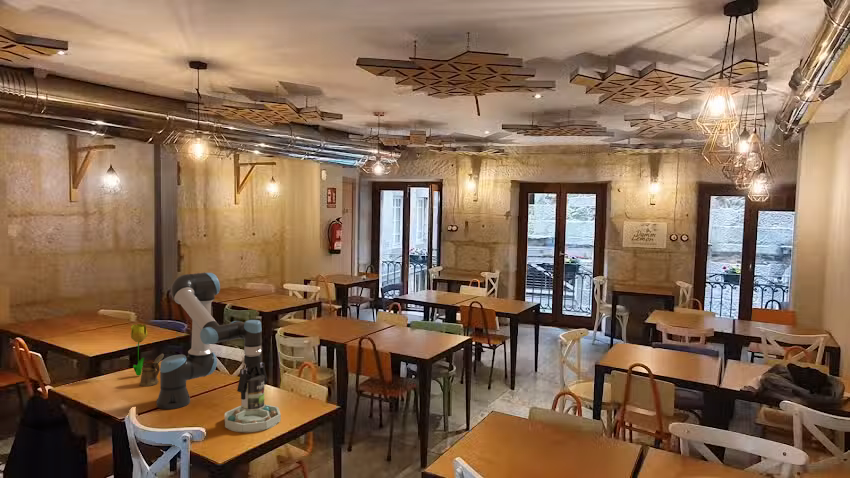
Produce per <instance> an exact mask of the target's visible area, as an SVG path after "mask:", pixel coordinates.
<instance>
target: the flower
mask: <svg viewBox="0 0 850 478" xmlns="http://www.w3.org/2000/svg"><path fill="white" fill-rule="evenodd" d="M146 325H147V324H142V323H137V324H132V325H131V326H130V338H131V340H133V341H134V342H136V343H137V365H136V364H133V366H132V367H133V371H134V373H135V375H136V376H138V377H140V376H141V375H142V367H143V364H144V363H145V362H144V360H145V357H141V359H139V357H140V356H139V354H140V353H139V350H140V349H139V348H140V343H141V342H143V341H144V340H145V339H146V338H147V336H148V335H149V334H148V330H147V326H146Z"/></svg>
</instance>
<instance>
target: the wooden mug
mask: <svg viewBox="0 0 850 478" xmlns="http://www.w3.org/2000/svg"><path fill="white" fill-rule="evenodd" d="M164 356H165V354H164V353H163V352H162V353H161V354H159V355H157V356H156V357H155V358H154V360H153V362H152V361H151V362H143V367H142V372H141V375H140V381H139V386H141V387H151V386H152V387H153V386H155V385H157V384H159V379H158V375H159V374H160V364H159V363H161V362H162V360H163V358H165V357H164Z"/></svg>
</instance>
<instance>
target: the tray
mask: <svg viewBox="0 0 850 478" xmlns="http://www.w3.org/2000/svg"><path fill="white" fill-rule="evenodd" d="M264 405H265V406H264V408H262V409H260V410H255V411H245V410H243V409H242V408H241V405H239V406H236V407H234V408H232V409H230V410H227V411H226V412H224V428H226V429H227V430H229V431H232V432H237V433H255V432H262V431H266V430H268V429H271V428H273V427H276V426H277V425H278V424H279V422H281V419H282V417H281V415H282V414H281V411H280V408H279V406H277V405H276V406H274V405H270V404H265V403H264Z"/></svg>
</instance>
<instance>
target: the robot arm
mask: <svg viewBox="0 0 850 478" xmlns="http://www.w3.org/2000/svg"><path fill="white" fill-rule="evenodd" d="M220 291H221V284H220V280H219V278H218V276H217V275H216V274H214V273H213V272H198V273H187V274H181V275H179V276H177V277H176V278H175V279H174V281H172V283H171V287H170V296H171V297H172V299H173V301H174V302H175V303H176V304H178V305H180V306H181V307H182V308H183V310H184V311H185V312H186V313H187V315H188V316H189V317H190V319H191V320H192V322H191V323H192V325H191V348H190V349H189V350H188V351H187V356H186V355H185V354H174V355H170V356H167V357H164V359H163V358H162V360H161V361H160V364H159V366H160V371H159V374H160V375H159V376H160V377H159V381H160V386H159V387H160V391H159V393H158V397H157V399H156V407H157V408H159V409H163V410H173V409H179V408H183V407H185V406H187V405H189V404H190V403H191V396H190V394H189V392H188V388H187V381H190V380H194V379H199V378H205V377H207V376H210V375H212V374H213V373H214V372H215V371H216V368H217V364H218V360H217V355H216V354H215V352H214V351H213V349H212V348H210V345H214V344H217V343H223V342H229V341H233V340H244V343H243V344H244V345H243V347H244V349H243V354H244V357H243V359H244V360H243V361H244V365H245V368H244V369H243V368H241V369H240V371H239V372H240V373H239V374H240V375H239V379H238V385H237V391H236V392H238V393H240V400H241V399H242V406H245V407H247V406H248V392H246V390H247V388H248V382H247V383H246V382H245V380H250V379H251V378H252V376H253V375H254V374H255V375H257V376H261V374H262V375H264V376H265V378H264V386H266V385H267V383H268V377H267V372H266V363H265V362H262V341H263V340H262V339H263V338H262V336H263V335H262V334H263V333H262V332H263V330H262V329H263V328H262V322H261V320H259V319H248V320H246V321H244V322H243V321H241V320H234V321H231V322H230V323H227V324H219V323H218V322H217V321H216V320H215V318H214V317H213V316H212V302H213V301H215V296H217V295H218V294H219V293H220Z"/></svg>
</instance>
